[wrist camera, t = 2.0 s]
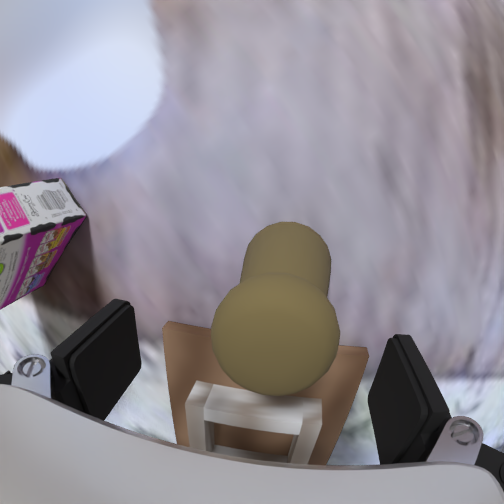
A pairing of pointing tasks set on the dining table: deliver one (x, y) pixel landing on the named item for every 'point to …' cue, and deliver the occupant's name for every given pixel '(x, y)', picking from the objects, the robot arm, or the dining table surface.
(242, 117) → the dining table surface
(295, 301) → the cork
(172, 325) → the socket board
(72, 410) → the robot arm
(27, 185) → the candy bar box
